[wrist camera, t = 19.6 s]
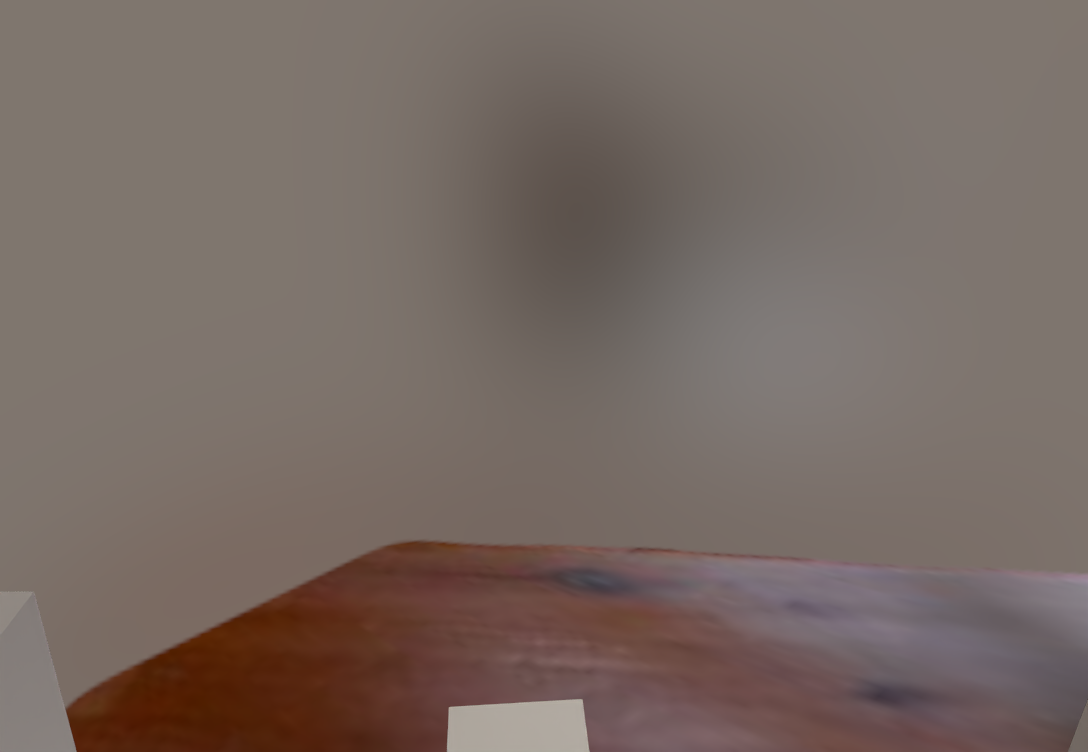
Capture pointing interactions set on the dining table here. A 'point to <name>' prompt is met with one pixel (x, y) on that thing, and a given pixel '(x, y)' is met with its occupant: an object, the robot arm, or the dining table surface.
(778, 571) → the dining table surface
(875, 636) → the dining table surface
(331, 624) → the dining table surface
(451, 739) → the switch lever
